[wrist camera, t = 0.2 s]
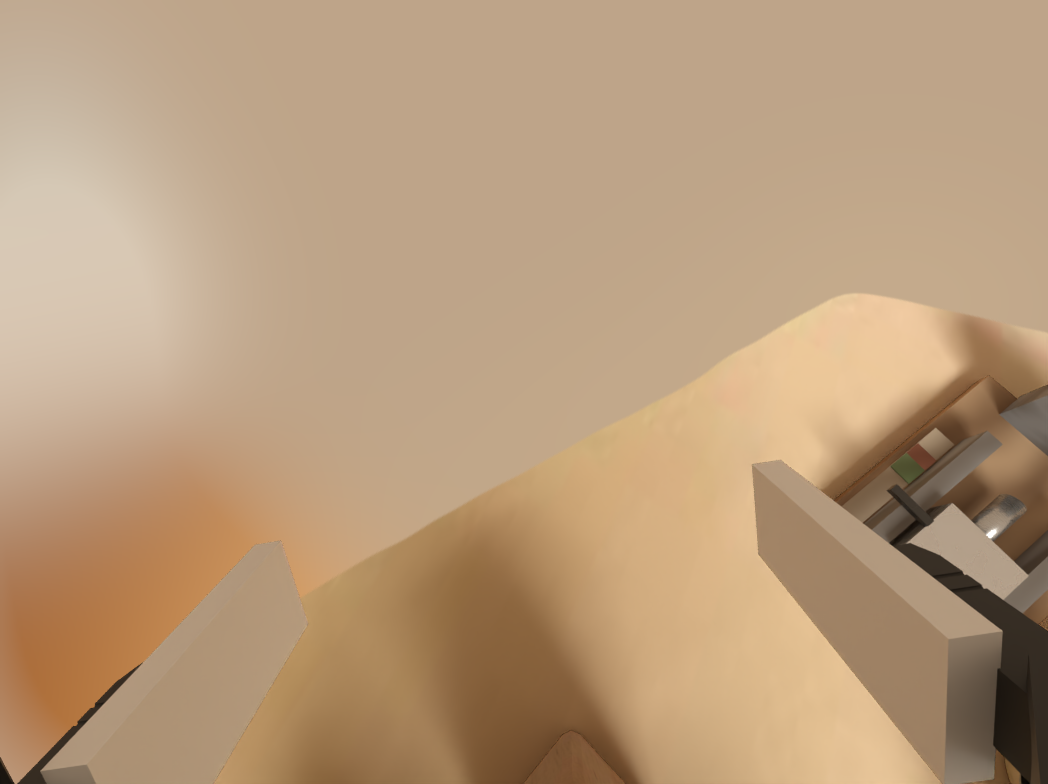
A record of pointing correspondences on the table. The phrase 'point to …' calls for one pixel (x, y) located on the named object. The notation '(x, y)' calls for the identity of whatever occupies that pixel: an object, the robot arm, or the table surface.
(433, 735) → the table surface
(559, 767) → the block
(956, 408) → the gauge bed
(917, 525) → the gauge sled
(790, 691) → the table surface
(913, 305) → the table surface
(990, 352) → the table surface
